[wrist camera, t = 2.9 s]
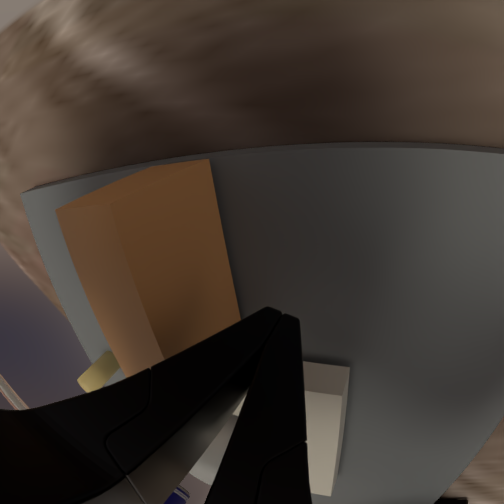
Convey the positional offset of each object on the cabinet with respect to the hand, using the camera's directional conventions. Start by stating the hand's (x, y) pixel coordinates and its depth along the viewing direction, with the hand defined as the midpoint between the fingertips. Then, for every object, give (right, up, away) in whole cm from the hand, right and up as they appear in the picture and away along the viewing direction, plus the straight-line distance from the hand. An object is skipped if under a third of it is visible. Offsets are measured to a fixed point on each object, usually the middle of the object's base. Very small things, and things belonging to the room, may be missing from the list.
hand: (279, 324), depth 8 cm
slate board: (-1, -5, +6) cm, 8 cm away
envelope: (-74, -45, +64) cm, 108 cm away
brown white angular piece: (-2, -3, +4) cm, 5 cm away
